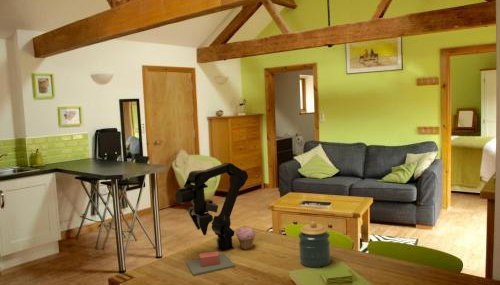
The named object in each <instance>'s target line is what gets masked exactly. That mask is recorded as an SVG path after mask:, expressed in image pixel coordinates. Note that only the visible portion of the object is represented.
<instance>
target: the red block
mask: <svg viewBox="0 0 500 285" xmlns="http://www.w3.org/2000/svg"><path fill="white" fill-rule="evenodd" d="M219 255H220V254H219V252H218V250H216V251H209V252H202V253H199V259H200V263H201V267H205V266H212V265H218V264H220V258H219Z"/></svg>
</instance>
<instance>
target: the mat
mask: <svg viewBox="0 0 500 285" xmlns="http://www.w3.org/2000/svg"><path fill="white" fill-rule="evenodd" d="M219 258H220V264H218V265H212V266H205V267H201V263H200V258H198V259H193V260H188V261H185V265H186V266H187V268H188V269H189V271H190V273H191V275H192V276H193V277H195V276H200V275H204V274H208V273H213V272H218V271H223V270H226V269H231V268H235V267H236V264H235V263H234V262H233V261H232V260H231V259H230V258H229V256H227V253H226V254H225V253H221V254H219Z"/></svg>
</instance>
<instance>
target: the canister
mask: <svg viewBox="0 0 500 285" xmlns="http://www.w3.org/2000/svg"><path fill="white" fill-rule="evenodd" d="M299 231H300V232H299V233H298V235H297V236H298V237H299V241H298V245H299V262H300V264H301V265H303V266H305V267H309V268H320V267H319V266H323V267H326V266H328V265H329V264H330V263H331V258H332V256H331V248H330V247H331V245H330V244H331V242H330V240H329V239H330V233H329V232H328V228H327V227H326V226H324V225H323V224H320V223H317V222H316V221H315V220H314V221H313V220H312V221H311V222H310V223H308V224H304V226H302V227H301V228H300V230H299ZM325 265H326V266H325Z"/></svg>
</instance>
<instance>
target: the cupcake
mask: <svg viewBox="0 0 500 285" xmlns="http://www.w3.org/2000/svg"><path fill="white" fill-rule="evenodd" d="M255 237H256V233H255V230H254V229H253V227H251V226H243V227H239V228H238V230H237V231H236V238H237V239H238V240H239V245H240V248H242V249H243V250H248V249H251V248H252V247H253V244H254V239H255Z"/></svg>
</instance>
